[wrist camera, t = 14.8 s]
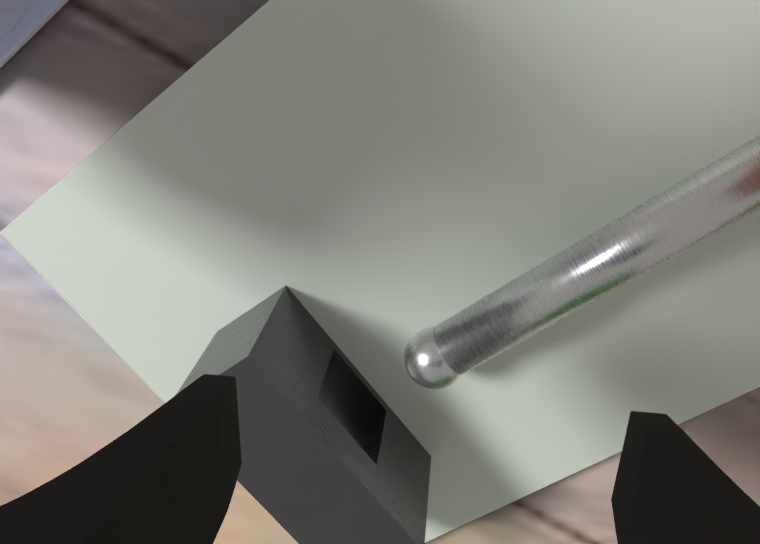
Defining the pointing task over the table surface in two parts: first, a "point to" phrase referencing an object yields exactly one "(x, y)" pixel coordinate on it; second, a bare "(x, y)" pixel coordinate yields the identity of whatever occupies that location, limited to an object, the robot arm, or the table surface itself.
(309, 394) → the eye bracket
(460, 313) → the mallet
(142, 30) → the table surface
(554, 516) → the table surface
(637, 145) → the board
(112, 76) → the table surface
